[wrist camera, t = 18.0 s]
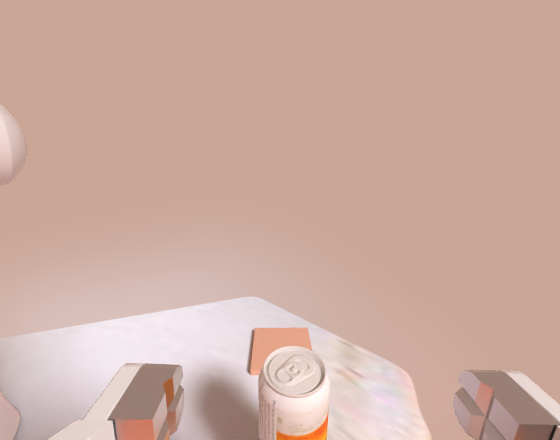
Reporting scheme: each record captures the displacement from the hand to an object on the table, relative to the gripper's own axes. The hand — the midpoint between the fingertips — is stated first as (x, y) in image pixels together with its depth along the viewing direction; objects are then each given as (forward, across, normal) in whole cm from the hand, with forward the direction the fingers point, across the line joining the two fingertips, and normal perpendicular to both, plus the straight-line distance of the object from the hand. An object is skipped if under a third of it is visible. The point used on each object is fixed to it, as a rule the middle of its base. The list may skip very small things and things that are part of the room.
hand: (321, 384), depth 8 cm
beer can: (+12, -1, +26) cm, 29 cm away
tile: (+26, -1, +26) cm, 37 cm away
